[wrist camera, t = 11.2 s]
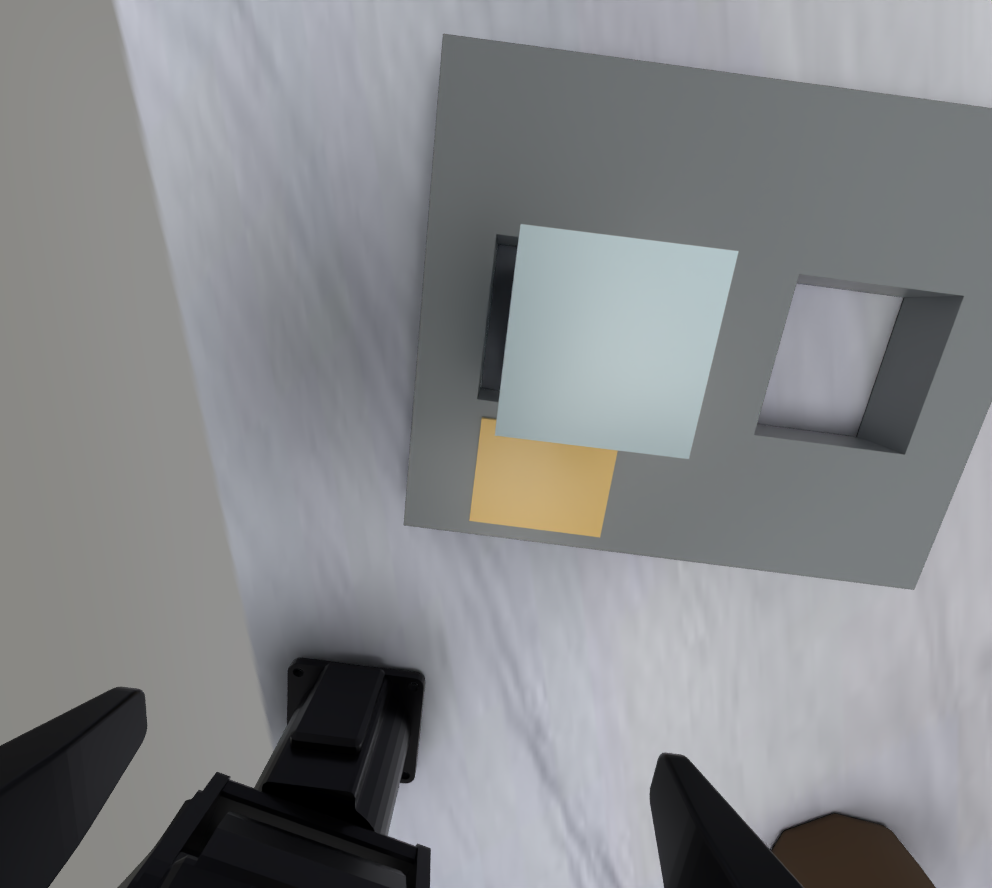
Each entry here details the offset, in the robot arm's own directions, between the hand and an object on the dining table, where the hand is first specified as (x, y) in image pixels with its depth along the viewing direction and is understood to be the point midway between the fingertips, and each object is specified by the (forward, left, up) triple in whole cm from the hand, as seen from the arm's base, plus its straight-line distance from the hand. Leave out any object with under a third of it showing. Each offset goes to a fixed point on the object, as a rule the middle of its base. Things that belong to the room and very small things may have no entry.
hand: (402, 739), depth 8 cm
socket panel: (+7, -8, -13) cm, 17 cm away
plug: (+7, -3, -13) cm, 15 cm away
